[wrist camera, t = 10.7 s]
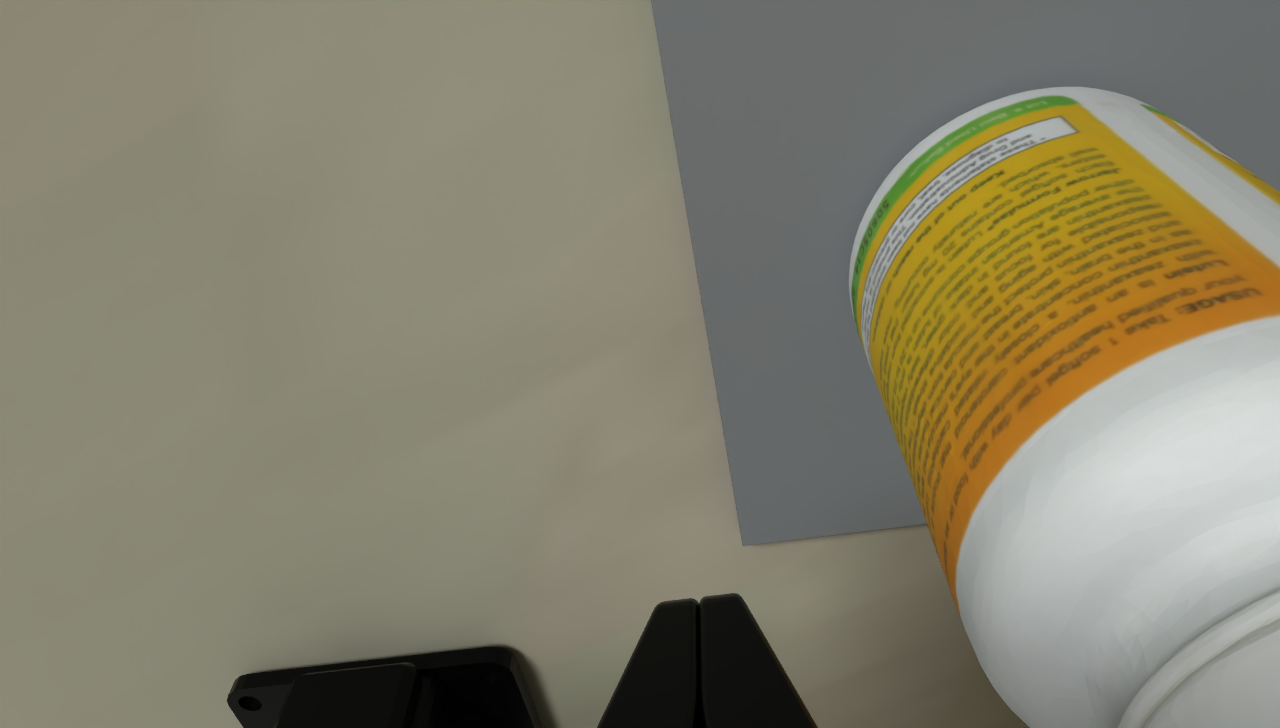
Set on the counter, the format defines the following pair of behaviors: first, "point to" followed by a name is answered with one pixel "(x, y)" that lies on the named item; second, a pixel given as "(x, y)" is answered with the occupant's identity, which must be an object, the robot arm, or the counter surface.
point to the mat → (855, 169)
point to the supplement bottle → (1089, 403)
